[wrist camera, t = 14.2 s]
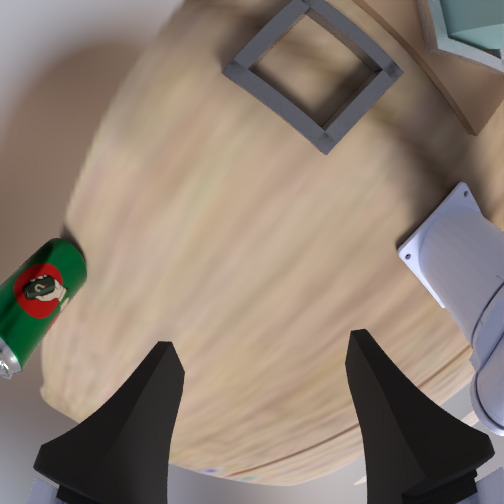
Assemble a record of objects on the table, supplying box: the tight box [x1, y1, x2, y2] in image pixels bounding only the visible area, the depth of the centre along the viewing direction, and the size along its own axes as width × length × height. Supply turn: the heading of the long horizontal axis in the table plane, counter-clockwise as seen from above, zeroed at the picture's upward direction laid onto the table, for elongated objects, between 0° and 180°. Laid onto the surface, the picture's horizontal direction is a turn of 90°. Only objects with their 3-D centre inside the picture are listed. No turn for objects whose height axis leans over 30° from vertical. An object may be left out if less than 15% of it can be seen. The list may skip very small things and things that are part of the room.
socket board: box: [353, 0, 504, 136], centre depth 9 cm, size 14×12×2 cm
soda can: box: [0, 238, 87, 379], centre depth 16 cm, size 5×5×12 cm
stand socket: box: [222, 0, 404, 155], centre depth 13 cm, size 8×8×2 cm
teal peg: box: [439, 0, 504, 50], centre depth 6 cm, size 4×4×8 cm
